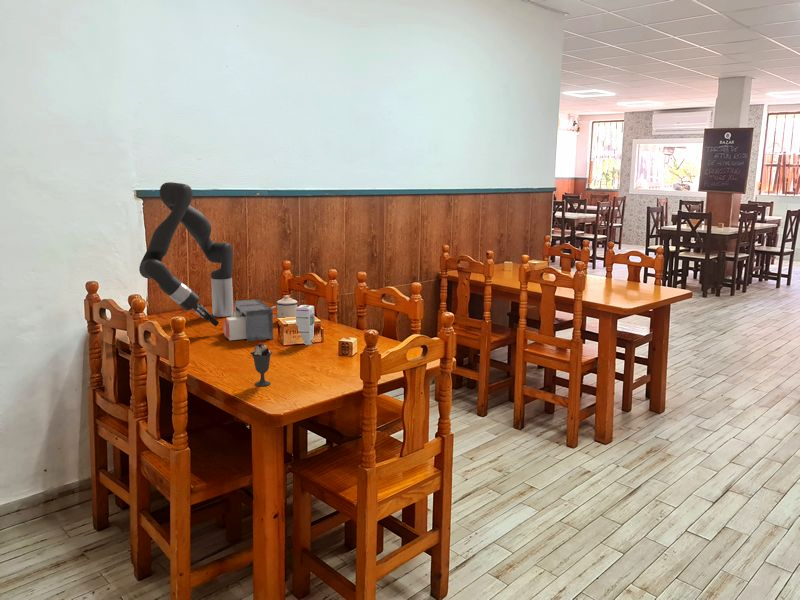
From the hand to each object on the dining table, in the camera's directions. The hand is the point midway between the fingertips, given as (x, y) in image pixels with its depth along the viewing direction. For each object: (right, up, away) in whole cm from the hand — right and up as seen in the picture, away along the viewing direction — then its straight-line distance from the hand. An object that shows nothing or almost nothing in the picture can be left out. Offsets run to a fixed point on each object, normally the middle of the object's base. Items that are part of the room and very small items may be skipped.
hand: (217, 324), depth 262 cm
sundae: (+31, -17, -60) cm, 69 cm away
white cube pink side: (+10, -5, -6) cm, 13 cm away
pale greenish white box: (+10, -3, +6) cm, 12 cm away
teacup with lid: (+23, 0, +23) cm, 33 cm away
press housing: (+14, -4, +2) cm, 15 cm away
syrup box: (+37, -7, -11) cm, 40 cm away
